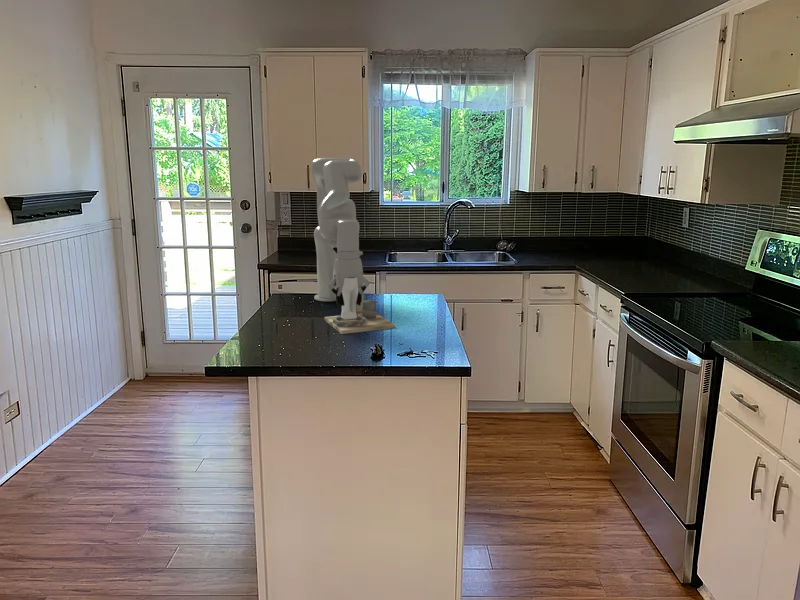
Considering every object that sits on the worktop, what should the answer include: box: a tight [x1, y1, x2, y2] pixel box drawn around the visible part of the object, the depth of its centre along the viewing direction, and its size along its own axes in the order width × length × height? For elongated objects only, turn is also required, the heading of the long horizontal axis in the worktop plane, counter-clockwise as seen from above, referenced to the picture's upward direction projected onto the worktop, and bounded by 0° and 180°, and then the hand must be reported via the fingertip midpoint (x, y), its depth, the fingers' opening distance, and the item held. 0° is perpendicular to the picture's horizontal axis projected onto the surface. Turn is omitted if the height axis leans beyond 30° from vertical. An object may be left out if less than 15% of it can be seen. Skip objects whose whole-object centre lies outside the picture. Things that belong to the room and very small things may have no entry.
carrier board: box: [324, 299, 396, 335], centre depth 213 cm, size 20×20×7 cm
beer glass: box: [340, 277, 359, 320], centre depth 209 cm, size 7×7×15 cm
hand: (349, 304), depth 209 cm, fingers closed on beer glass, 6 cm apart
